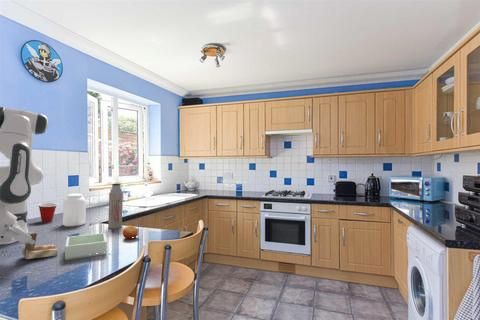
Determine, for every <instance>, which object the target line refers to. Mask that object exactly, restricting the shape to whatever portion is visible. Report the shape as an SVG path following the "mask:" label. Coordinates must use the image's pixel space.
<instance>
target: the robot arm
mask: <svg viewBox="0 0 480 320" xmlns="http://www.w3.org/2000/svg"><path fill="white" fill-rule="evenodd" d="M49 123H50V122H49V120H48V117H47V116H46V115H44V114H42V113H36V112H33V111H29V110H25V109H19V108H18V109H17V108H10V107H9V108H8V107H5V106H0V153H1V154H2V155H4V157H5V158H7V159H8V160H9V165H8V166H7V165H0V245H9V244H13V243H16V242H19V243H21V244H23V245H25V244H26V243H29V244H31V245H33V244H34V243H35V244H36V242H35V241H34V240H33V239H31V238H32V237H31V236H30V235H29V234H28V232H29V229H28V221H29V219H28V218H29V214H28V208H27V207H28V198H29V197H30V196H31V193H32V187H31V186H34V185H39V184H41V182H42V181H43V180H44V177H45V176H44V172H43V170H42V169H41V167H39V166H38V165H36V163H35V162H34V161H33V157H32V152H33V151H32V150H33V142H34V134H35V136H37V135H43V134H44V133H46V131H47V130H48V128H49Z"/></svg>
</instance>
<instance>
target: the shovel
mask: <svg viewBox="0 0 480 320" xmlns="http://www.w3.org/2000/svg"><path fill="white" fill-rule="evenodd" d="M28 234H29V235H30V236H31V237H32V238H31V239H33V240H34V241H35V243H34V244H33V245H31V244H29V243H26V244H24V246H22V252H21V255H22V256H23V257H24V258H25V259H26V260H31V259H39V258H47V257H55V256H56V257H57V256H58V251H59V248H56V249H50V250H41V251H39V248H40V247H41V246H42V245H36V242H37V235H38V232H36V231H28ZM49 245H50V244H48V245H46V244H45V246H47V247H48V246H49Z"/></svg>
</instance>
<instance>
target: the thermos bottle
mask: <svg viewBox="0 0 480 320" xmlns="http://www.w3.org/2000/svg"><path fill="white" fill-rule="evenodd" d="M122 190H123V189H122V188H121V183H112V184H111V188H110V191H109V194H108V221H107V222H108V225H107V228H108V229H120V228H122V227H123V198H124V197H123V196H124V192H123V191H122Z"/></svg>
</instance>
